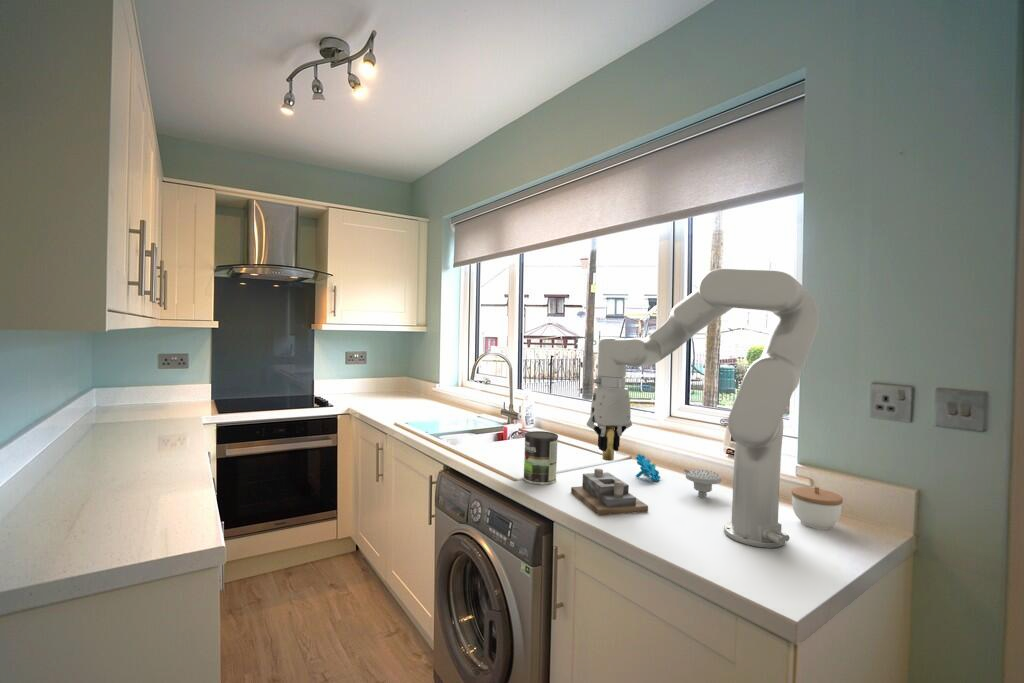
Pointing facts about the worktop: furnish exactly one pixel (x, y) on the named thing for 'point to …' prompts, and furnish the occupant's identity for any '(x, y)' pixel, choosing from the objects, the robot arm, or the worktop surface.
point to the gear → (647, 468)
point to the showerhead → (703, 480)
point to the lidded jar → (816, 506)
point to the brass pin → (609, 443)
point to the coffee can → (540, 457)
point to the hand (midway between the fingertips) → (608, 449)
